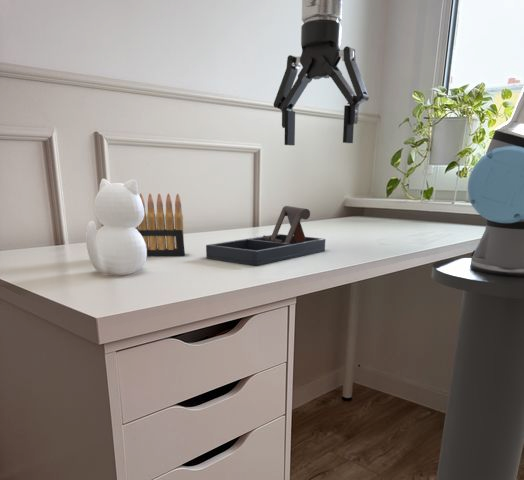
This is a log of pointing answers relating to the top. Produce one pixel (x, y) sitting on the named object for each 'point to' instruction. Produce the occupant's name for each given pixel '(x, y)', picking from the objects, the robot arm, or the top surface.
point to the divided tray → (263, 250)
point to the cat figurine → (117, 229)
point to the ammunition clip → (163, 228)
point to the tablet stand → (294, 220)
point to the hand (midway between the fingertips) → (317, 144)
